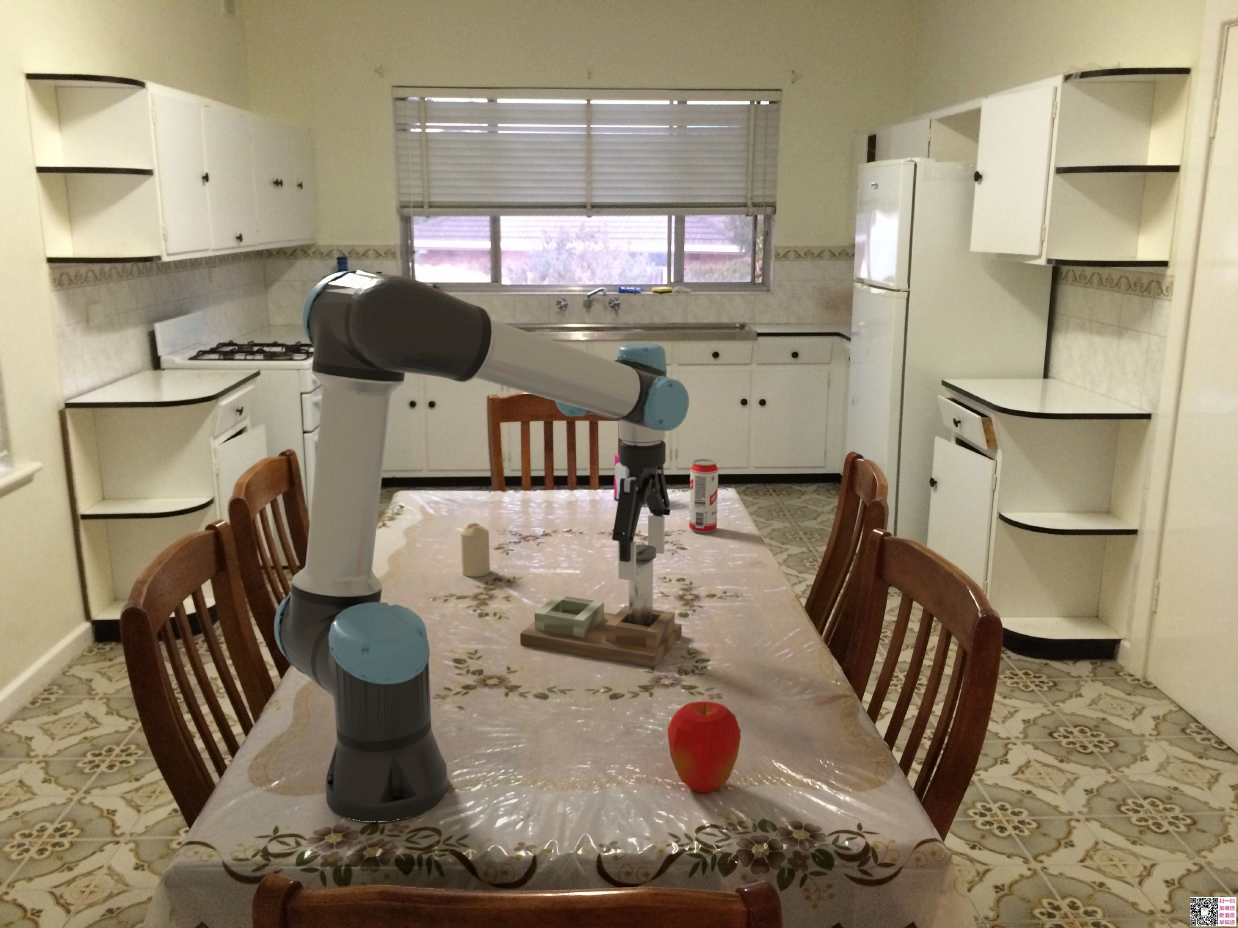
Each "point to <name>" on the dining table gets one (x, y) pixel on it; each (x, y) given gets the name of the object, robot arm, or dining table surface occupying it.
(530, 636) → the socket board
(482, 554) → the candle
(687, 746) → the apple
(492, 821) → the dining table surface
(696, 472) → the beer can
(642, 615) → the lock pin
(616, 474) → the supplement box
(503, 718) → the dining table surface
